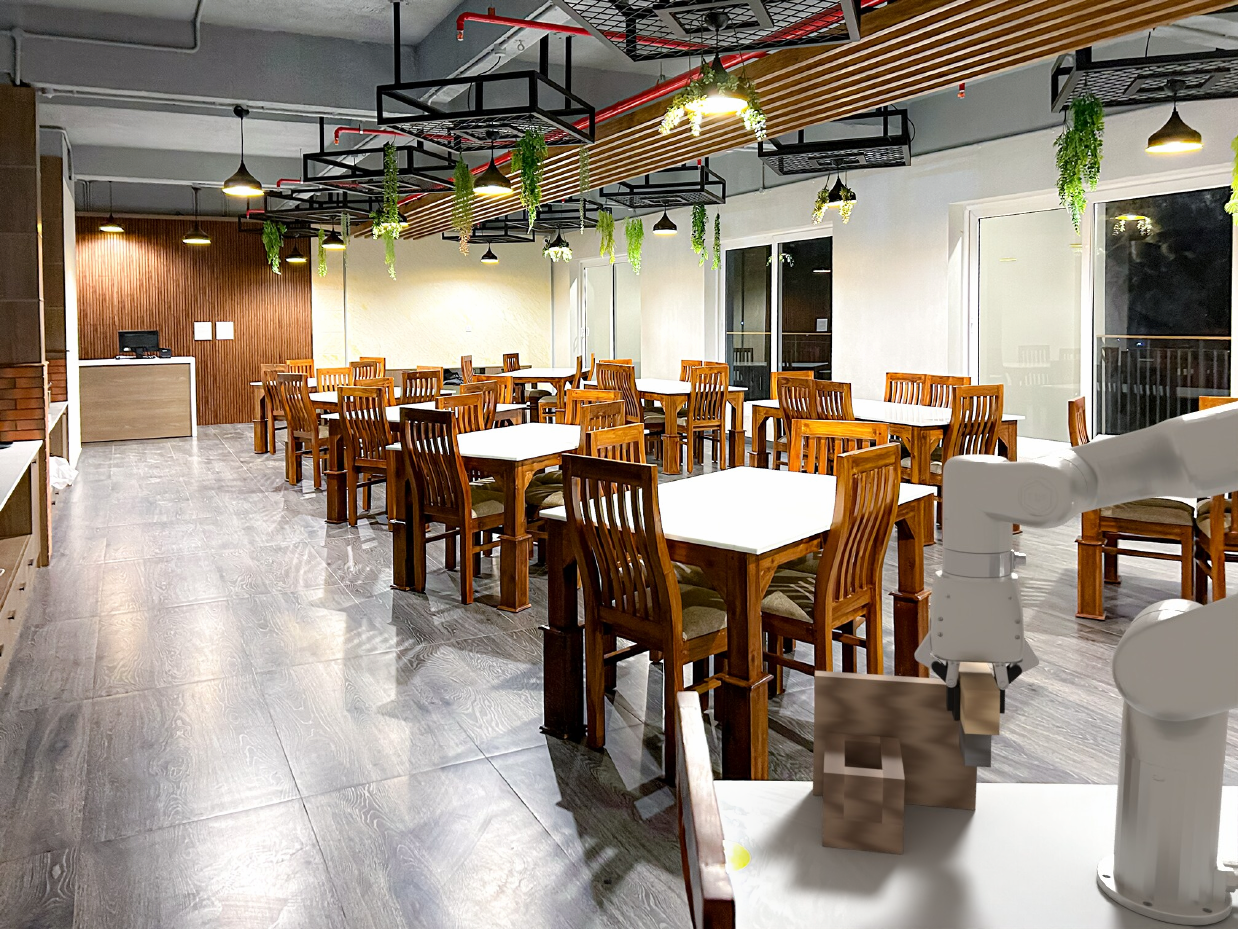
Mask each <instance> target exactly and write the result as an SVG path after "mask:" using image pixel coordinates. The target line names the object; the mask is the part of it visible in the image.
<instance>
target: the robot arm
mask: <svg viewBox="0 0 1238 929" xmlns="http://www.w3.org/2000/svg"><path fill="white" fill-rule="evenodd" d="M1237 491H1238V400H1237V401H1234V402H1231V403H1226V404H1222V405H1219V406H1214V407H1211V408H1207V409H1202V410H1199V411H1195V412H1191V413H1187V414H1182V415H1180V416H1176V417H1173V418H1169V419H1168V418H1167V419H1165V420H1164V421H1163V420H1162V421H1161V422H1158V423H1156V424H1154V425H1150V426H1148V427H1144V428H1141V429H1138V430H1134V431H1131V432H1127V433H1123V434H1120V435H1119V434H1118V435H1114V436H1112V437H1108V438H1104V439H1100V440H1096V441H1093V442H1088V443H1084V444H1081V445H1076V446H1071V447H1069V448H1065V449H1060V450H1057V451H1053V452H1050V453H1046V454H1043V455H1041V456H1039V457H1036V458H1032V459H1029V460H1022V461H1021V460H1020V461H1010V460H1009V459H1007V457H1004V456H1001V455H1000V456H998V455H992V454H963V455H961V454H960V455H956V456H955V455H954V456H951V457H950V458H949V459H947V460H946V462H945V463H944V465H943V472H942V548H941V550H942V556H941V558H942V559H941V560H942V563H941V567H942V569H940V570H937V571H935V572H934V577H933V582H932V587H931V595H930V603H929V604H930V605H929V618H928V632H927V633H926V635H925V636H924V638H923V640H922V641H921V643H920V645H919V646H918V647H917V649H916V650H915V652H914V659H915V660H916V661H917V662H918V663H920V664H921V665H923V666H925V667H927V668H928V669H929V670H932V672H934V673H935V674H936V676H938V677H939V679H942V680H943V681H944V682H945V683H946V708H947V711H952V715H953V718H954V721H959V720H961V719H960V695H961V690H960V686H959V681H958V678H957V677H958V672H959V666H960V662H977V663H987V664H991V665H992V671H993V673H992V674H993V677H994V679H995V682H996V684H997V686H998V688H999V690H1000V714H1002V715H1003V714H1005V712H1006V690H1007V689H1008V688H1009V686H1010V684H1012V683H1013V682H1014V681H1015V680H1016V679H1017V678H1019V677H1020V676H1021V675H1022V674H1023V673H1026V672H1027V671H1030V670H1031V669H1034V668H1036V667H1037V666H1039V665H1040V660H1039V659H1038V656H1037V655H1036V654H1035V652H1034V650H1033V649H1032V647H1031V646H1030V644H1029V642H1028V640H1027V639H1026V637H1025V623H1024V609H1023V608H1024V607H1023V600H1022V591H1021V587H1020V580H1019V577H1018V574H1017V573H1015V572H1014V569H1015V570H1016V568H1017V567H1019V566H1022V567H1023V566H1026V565H1027V557H1026V554H1025V553H1019V552H1016V551H1015V550H1014V549H1013V537H1014V535H1013V534H1014V533H1013V532H1014V530H1013V529H1014V527H1013V526H1014V525H1019V526H1023V527H1027V528H1028V527H1029V528H1033V529H1042V530H1045V529H1047V530H1048V529H1055V528H1058V527H1060V526H1063V525H1065V524H1067V523H1068V522H1069V521H1071V520H1072V519H1074V518H1075V517H1077V516H1078V515H1079V514H1082V513H1085V512H1090V511H1093V510H1097V509H1102V508H1106V507H1111V506H1116V505H1121V504H1125V503H1130V502H1135V501H1141V500H1145V499H1152V498H1161V497H1165V498H1166V497H1174V498H1175V497H1176V498H1183V499H1200V498H1201V499H1202V498H1210V497H1216V496H1219V495H1224V494H1228V493H1233V492H1237ZM1013 524H1014V525H1013ZM931 653H932V654H931ZM941 660H942V661H945V662H944V663H943V662H942V661H941ZM1006 664H1007V665H1006ZM1111 672H1112V674H1111V675H1112V680H1113V683H1114V686H1115V688H1116V689H1117V692H1118V693H1119V695H1120V697H1122V698H1123V703H1122V704H1123V705H1122V714H1121V728H1120V743H1119V756H1118V757H1119V760H1118V773H1117V774H1118V775H1117V789H1116V790H1117V793H1116V806H1115V807H1116V810H1115V811H1116V813H1115V825H1114V826H1115V827H1114V828H1115V829H1114V840H1113V841H1114V842H1113V854H1111V855H1108V856H1106V857H1104V858H1103V859H1101V861H1099V862H1098V864H1097V868H1096V881H1097V884H1098V886H1099V887H1100V888H1101V890H1102V891H1103V892H1104V893H1105V894H1106V895H1107V896H1108V897H1109V898H1110V899H1111V900H1113V901H1115V903H1117V904H1119V905H1121V906H1122V907H1124V908H1126V909H1128V910H1130V911H1132V912H1134V913H1137V914H1140V915H1142V916H1145V917H1148V918H1150V919H1154V920H1157V921H1160V922H1166V923H1170V924H1175V925H1184V926H1205V925H1212V924H1217V923H1218V922H1220V921H1224V920H1226V918H1227V917H1229V916H1230V915H1231V913H1232V906H1233V897H1232V894H1231V893H1235V892H1236V890H1238V861H1231V860H1229V861H1226V860H1223V861H1222V860H1220V858H1219V856H1218V854H1219V853H1218V850H1219V840H1220V824H1221V823H1220V822H1221V810H1222V794H1223V784H1224V783H1223V781H1224V770H1225V769H1224V767H1225V763H1226V749H1227V734H1228V722H1229V711H1231V710H1234V709H1238V591H1236V593H1235V594H1233V595H1232V594H1231V595H1230V596H1227V597H1224V598H1221V599H1219V600H1216V601H1213V602H1209V603H1207V604H1204V605H1203V604H1201V603H1199V602H1197V601H1193V600H1189V599H1184V598H1169V599H1165V600H1160V601H1158V602H1155V603H1152V604H1150V605H1149V606H1147V607H1145V608H1144V609H1142V610H1141V611H1140V612H1139V613H1138V614H1137V615H1136V616H1135V617H1134V618H1133V619H1132V621H1131V623H1130V624H1129V625H1128V626H1127V628H1126V630H1125V632H1124V634H1123V635H1122V636H1121V638H1120V640H1119V642H1118V643H1117V645H1116V646H1115V650H1114V652H1113V656H1112V661H1111Z"/></svg>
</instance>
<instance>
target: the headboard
mask: <svg viewBox="0 0 1238 929" xmlns="http://www.w3.org/2000/svg"><path fill="white" fill-rule="evenodd" d="M813 702H814V704H813V705H814V706H813V708H814V709H813V710H814V711H813V760H812V762H813V764H812V765H813V766H812V768H813V769H812V796H820V797H821V796H822V797H823V798H822V837H821V838H822V840H821V841H822V843H821V846H822V847H826V848H827V847H828V848H836V849H837V848H838V849H846V850H856V851H857V850H858V851H866V852H877V853H886V854H892V855H893V854H895V855H904V854H903V850H904V846H903V845H904V819H905V818H904V817H905V816H904V815H905V812H904V811H905V804H907V805H914V806H915V805H917V806H926V807H937V808H938V807H940V808H947V809H959V810H971V811H976V808H977V806H976V804H977V783H978V782H977V780H978V779H977V778H978V767H976V766H965V764H964V761H963V757H962V754H961V750H960V747H959V721H954V718H953V715H952V711H947V708H946V683H945V682H944V681H943V680H942V679H941V678H933V677H916V676H900V675H886V674H871V673H869V674H868V673H857V672H855V673H854V672H839V671H837V672H836V671H825V670H814V701H813Z"/></svg>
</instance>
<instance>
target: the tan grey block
mask: <svg viewBox="0 0 1238 929" xmlns="http://www.w3.org/2000/svg"><path fill="white" fill-rule="evenodd" d="M988 664H989V663H977V662H960V666H959V672H958V677H957V678H958V681H959V686H960V690H961V695H960V719H961V720H959V747H960V750H961V754H962V757H963V761H964V764H965V766H976V767H977V768H979V767H981V768H992V736H1000V722H1001V721H1000V718H1001V716H1000V690H999V688H998V686H997V684H996V682H995V679H994V674H993V673H992V670H991V669H990V667H989V665H988Z"/></svg>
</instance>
